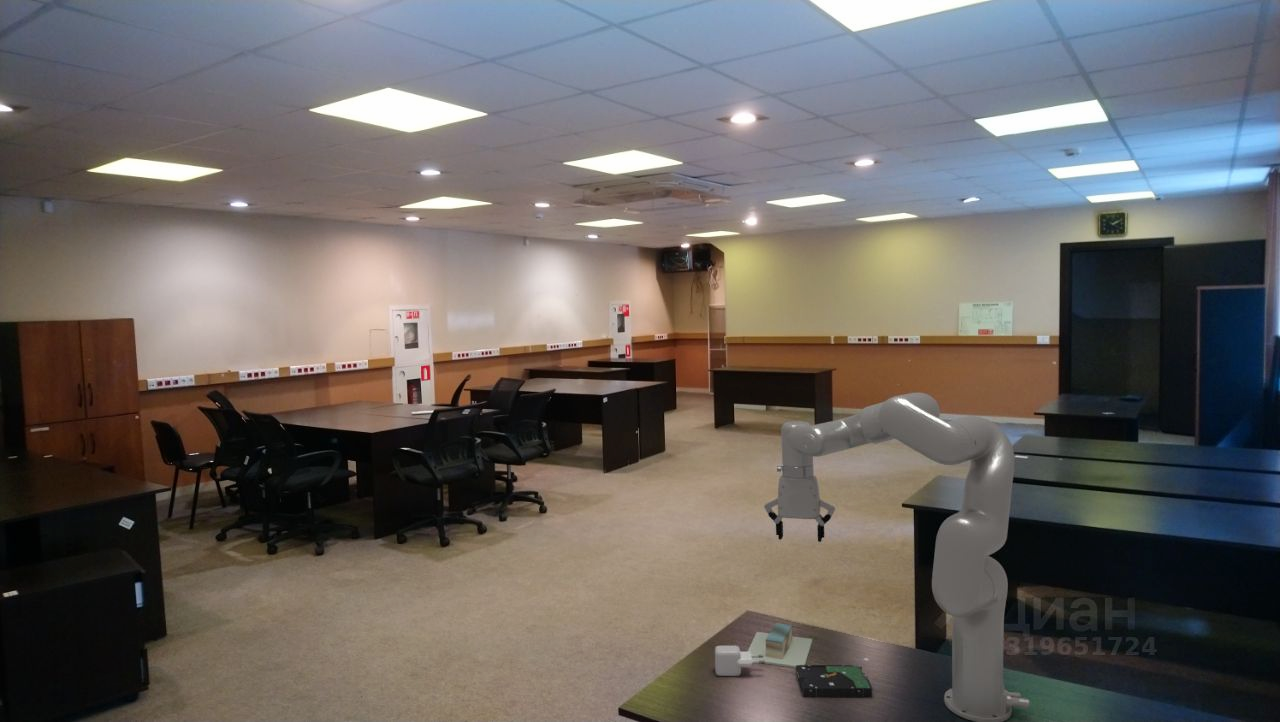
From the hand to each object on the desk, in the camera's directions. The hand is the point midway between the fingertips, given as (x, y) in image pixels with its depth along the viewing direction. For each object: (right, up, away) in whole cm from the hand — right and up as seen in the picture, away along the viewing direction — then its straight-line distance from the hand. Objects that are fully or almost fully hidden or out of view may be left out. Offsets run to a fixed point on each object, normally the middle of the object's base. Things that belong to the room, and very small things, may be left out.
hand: (800, 539), depth 181 cm
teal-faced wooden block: (-6, -26, -5) cm, 27 cm away
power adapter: (-17, -27, -15) cm, 36 cm away
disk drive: (+3, -28, -21) cm, 35 cm away
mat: (-6, -26, -5) cm, 27 cm away
